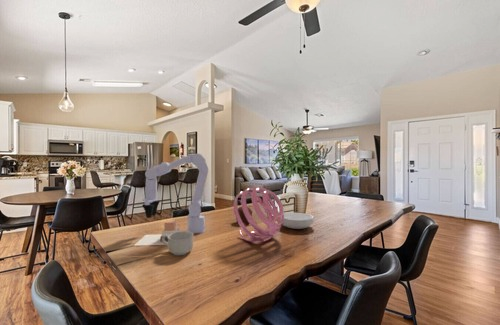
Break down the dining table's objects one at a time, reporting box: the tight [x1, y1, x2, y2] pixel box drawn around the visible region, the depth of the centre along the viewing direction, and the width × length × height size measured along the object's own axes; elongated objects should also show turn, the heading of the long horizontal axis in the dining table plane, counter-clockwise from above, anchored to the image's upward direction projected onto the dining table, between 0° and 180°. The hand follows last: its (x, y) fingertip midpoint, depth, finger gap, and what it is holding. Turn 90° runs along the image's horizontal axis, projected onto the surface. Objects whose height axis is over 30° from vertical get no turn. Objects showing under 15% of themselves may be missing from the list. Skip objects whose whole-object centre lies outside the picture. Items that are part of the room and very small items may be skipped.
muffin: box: [235, 206, 253, 225], centre depth 155 cm, size 12×11×10 cm
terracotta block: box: [163, 219, 177, 231], centre depth 121 cm, size 4×4×4 cm
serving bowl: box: [280, 212, 314, 230], centre depth 145 cm, size 21×21×7 cm
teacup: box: [162, 230, 194, 257], centre depth 105 cm, size 14×11×8 cm
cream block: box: [161, 226, 180, 236], centre depth 121 cm, size 7×7×2 cm
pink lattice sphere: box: [233, 186, 285, 243], centre depth 123 cm, size 28×28×27 cm
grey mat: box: [133, 233, 168, 247], centre depth 121 cm, size 20×16×1 cm
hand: (151, 216), depth 128 cm, fingers open, 7 cm apart
